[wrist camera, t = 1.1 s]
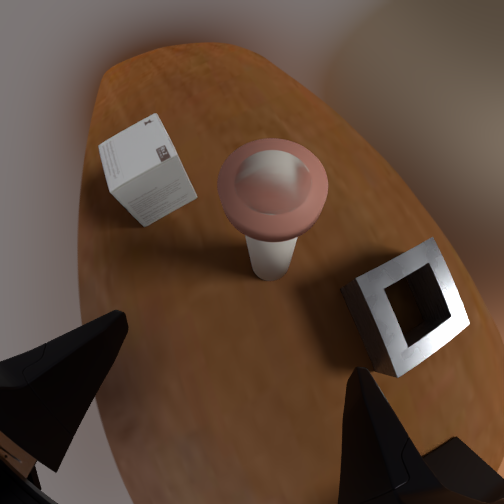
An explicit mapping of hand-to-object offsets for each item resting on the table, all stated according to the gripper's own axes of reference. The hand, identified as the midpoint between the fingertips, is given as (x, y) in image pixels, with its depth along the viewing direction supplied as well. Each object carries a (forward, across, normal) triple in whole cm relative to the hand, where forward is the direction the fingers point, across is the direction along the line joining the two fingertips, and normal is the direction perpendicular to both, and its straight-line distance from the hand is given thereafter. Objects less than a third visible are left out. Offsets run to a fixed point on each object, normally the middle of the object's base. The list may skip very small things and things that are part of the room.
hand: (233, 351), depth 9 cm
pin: (+14, 0, +4) cm, 15 cm away
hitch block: (+12, -12, +6) cm, 18 cm away
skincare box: (+18, +12, +1) cm, 21 cm away
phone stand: (0, -22, +18) cm, 29 cm away
